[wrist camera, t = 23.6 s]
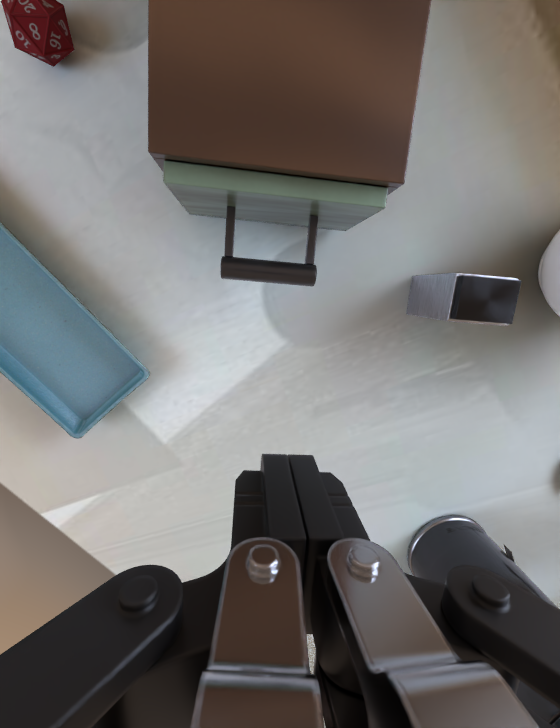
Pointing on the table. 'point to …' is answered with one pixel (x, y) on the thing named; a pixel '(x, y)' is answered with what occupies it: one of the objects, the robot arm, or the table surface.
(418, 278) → the brushed metal box
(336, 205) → the drawer
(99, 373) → the shallow long dish
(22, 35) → the dice
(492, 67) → the table surface
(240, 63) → the cabinet
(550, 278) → the lidded bowl
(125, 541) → the table surface
